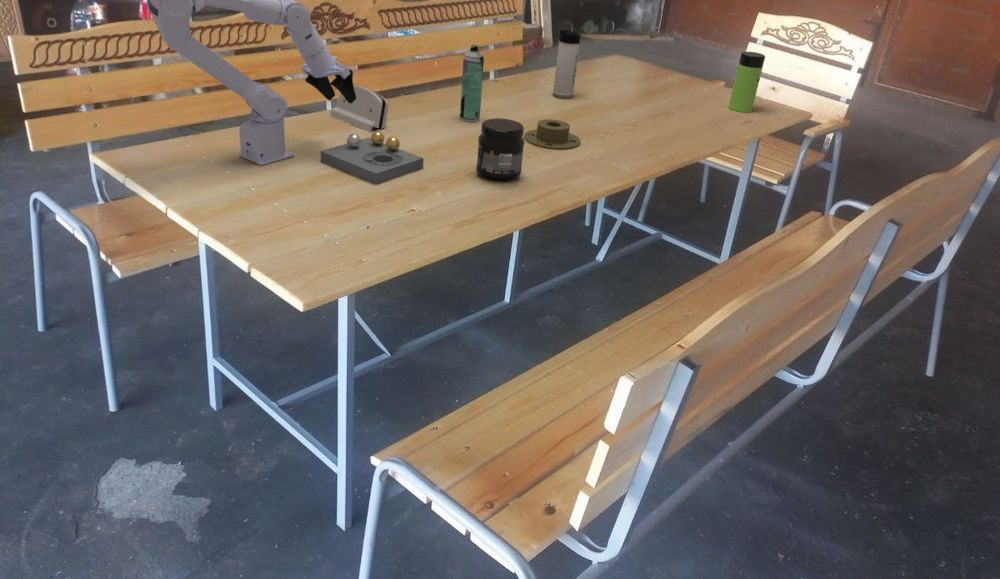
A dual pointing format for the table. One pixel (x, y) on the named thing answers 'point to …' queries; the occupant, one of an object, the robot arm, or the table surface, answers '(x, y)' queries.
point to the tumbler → (746, 81)
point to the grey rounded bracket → (362, 109)
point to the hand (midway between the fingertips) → (342, 99)
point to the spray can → (471, 85)
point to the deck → (372, 161)
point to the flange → (552, 135)
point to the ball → (353, 140)
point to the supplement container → (500, 150)
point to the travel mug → (566, 64)
